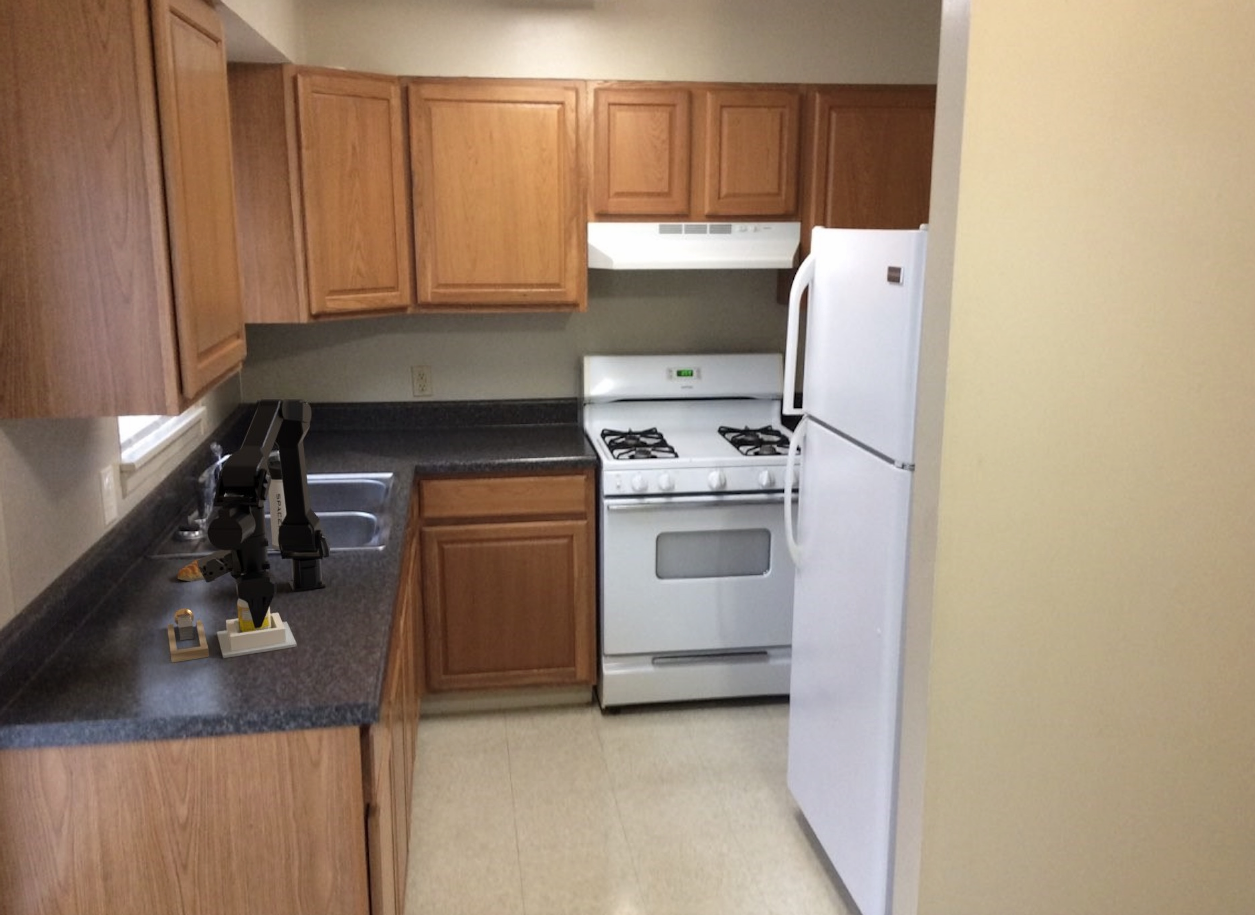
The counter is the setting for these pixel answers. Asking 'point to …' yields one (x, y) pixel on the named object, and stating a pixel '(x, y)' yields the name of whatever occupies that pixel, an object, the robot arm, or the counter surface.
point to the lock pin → (184, 623)
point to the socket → (255, 638)
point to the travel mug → (276, 501)
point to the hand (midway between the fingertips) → (254, 618)
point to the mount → (189, 652)
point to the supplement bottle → (250, 618)
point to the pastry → (190, 572)
